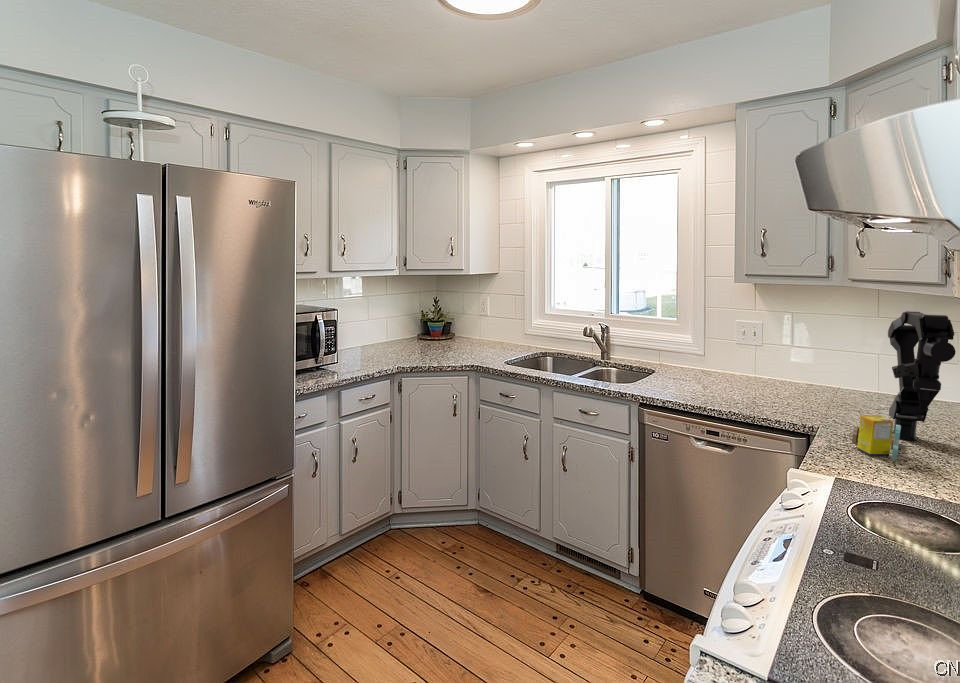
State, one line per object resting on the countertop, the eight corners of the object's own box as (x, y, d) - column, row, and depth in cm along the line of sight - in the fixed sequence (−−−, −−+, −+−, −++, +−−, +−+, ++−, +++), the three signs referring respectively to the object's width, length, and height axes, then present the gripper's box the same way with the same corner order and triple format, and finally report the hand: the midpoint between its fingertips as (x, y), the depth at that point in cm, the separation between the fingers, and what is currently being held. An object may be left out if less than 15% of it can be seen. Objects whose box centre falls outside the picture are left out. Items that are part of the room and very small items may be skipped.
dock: (853, 435, 186) (854, 426, 185) (894, 442, 179) (895, 433, 179) (851, 443, 178) (852, 433, 177) (894, 450, 172) (896, 440, 171)
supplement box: (875, 450, 171) (879, 415, 170) (889, 456, 166) (894, 420, 164) (855, 449, 171) (859, 414, 170) (869, 456, 165) (873, 420, 164)
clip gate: (891, 459, 162) (894, 432, 161) (892, 450, 170) (896, 424, 169) (896, 460, 161) (900, 432, 160) (897, 451, 169) (901, 425, 168)
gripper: (895, 350, 181) (889, 397, 184) (895, 357, 166) (889, 409, 169) (939, 353, 175) (933, 403, 177) (944, 362, 160) (937, 415, 162)
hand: (922, 407), depth 171 cm, fingers open, 9 cm apart
